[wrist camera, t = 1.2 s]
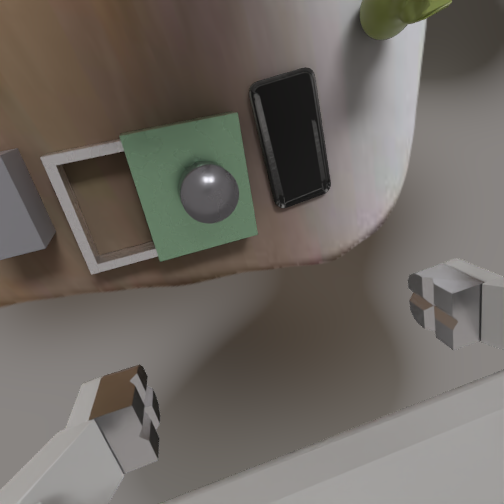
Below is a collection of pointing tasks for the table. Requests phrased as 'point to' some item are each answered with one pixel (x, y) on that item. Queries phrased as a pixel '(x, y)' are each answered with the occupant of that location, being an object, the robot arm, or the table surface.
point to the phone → (291, 136)
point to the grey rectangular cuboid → (21, 209)
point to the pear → (395, 15)
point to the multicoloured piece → (170, 188)
